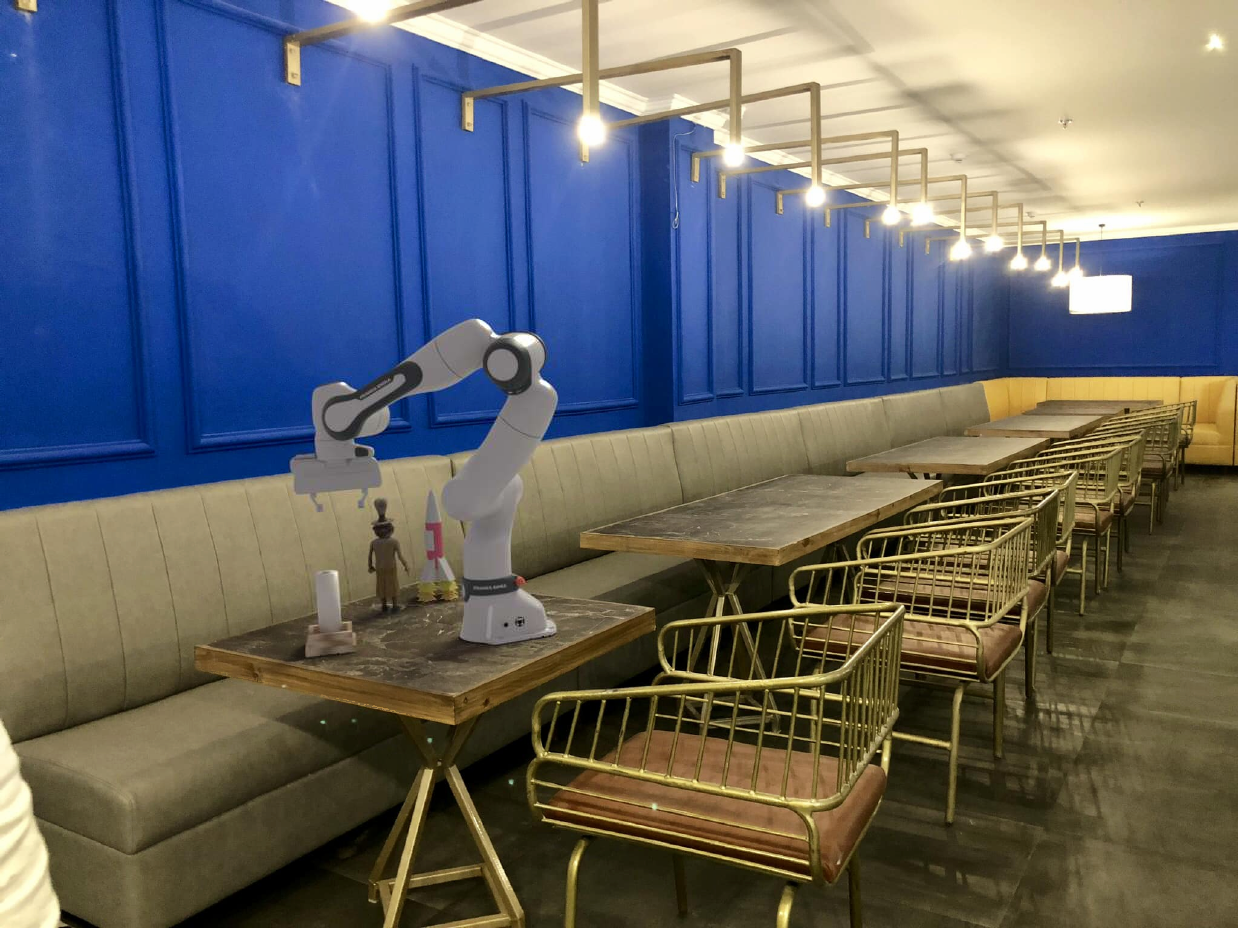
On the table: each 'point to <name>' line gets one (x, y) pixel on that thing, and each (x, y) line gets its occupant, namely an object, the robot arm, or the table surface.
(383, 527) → the figurine
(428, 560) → the toy rocket
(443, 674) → the table surface
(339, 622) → the roll
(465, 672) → the table surface
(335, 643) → the holder
